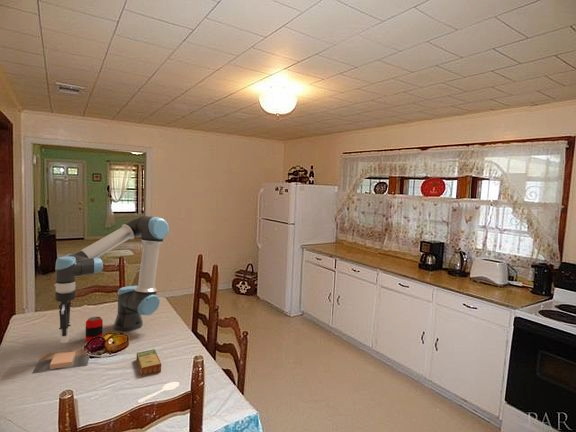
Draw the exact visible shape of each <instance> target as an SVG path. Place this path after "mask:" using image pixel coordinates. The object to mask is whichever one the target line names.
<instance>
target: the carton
mask: <svg viewBox="0 0 576 432" xmlns="http://www.w3.org/2000/svg"><path fill="white" fill-rule="evenodd" d="M136 363H137V366H138V369H139V372H140V375H141V377H144V376H150V375H153V374H158V373H161V372H162V363H161V360H160V357H159V355H158V354H157V350H156V349H155V348H154V349H149V350H144V351H138V352H136Z"/></svg>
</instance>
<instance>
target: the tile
mask: <svg viewBox="0 0 576 432" xmlns="http://www.w3.org/2000/svg"><path fill="white" fill-rule="evenodd" d="M74 358H75V352H67V353H59V354H55V355H54V357H53V359H52V361H51V363H50V369H53V368H61V367H68V366H72V364H73V361H74Z"/></svg>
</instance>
